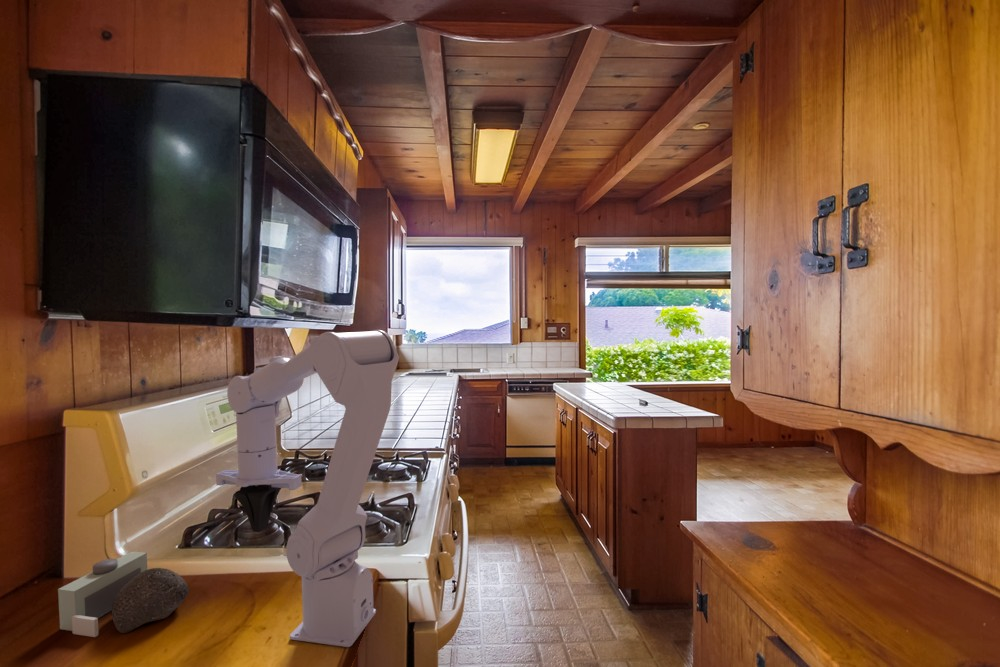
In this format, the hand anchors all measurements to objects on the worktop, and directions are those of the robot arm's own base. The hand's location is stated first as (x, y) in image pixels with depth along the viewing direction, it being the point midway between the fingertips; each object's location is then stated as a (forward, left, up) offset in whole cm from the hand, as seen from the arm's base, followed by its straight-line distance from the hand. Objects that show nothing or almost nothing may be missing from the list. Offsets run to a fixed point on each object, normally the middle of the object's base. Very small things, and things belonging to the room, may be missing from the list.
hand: (260, 529), depth 77 cm
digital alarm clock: (+20, +8, -10) cm, 24 cm away
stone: (+13, +8, -11) cm, 19 cm away
